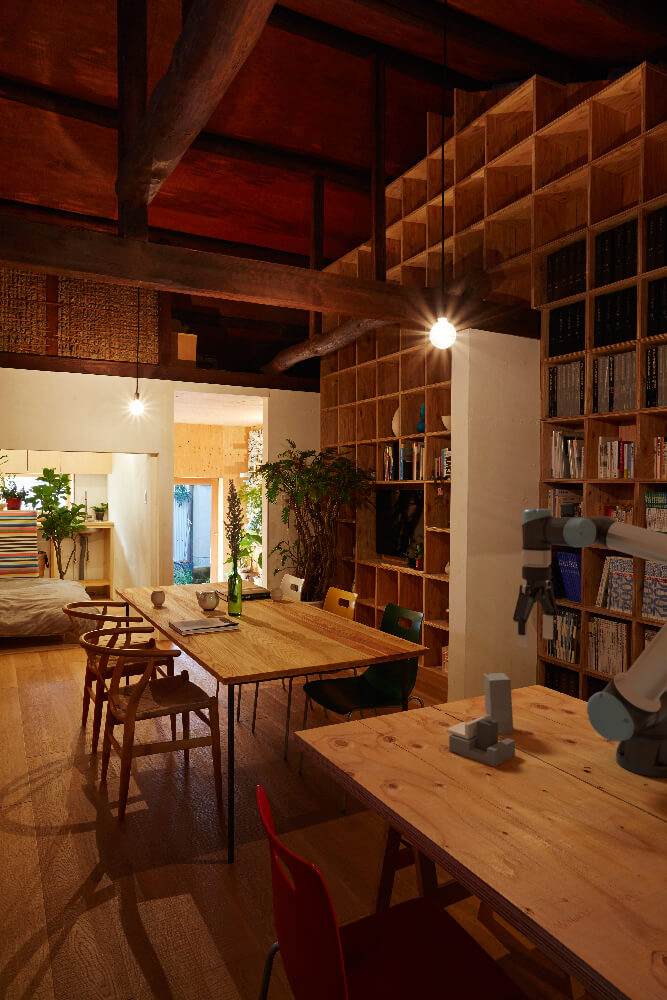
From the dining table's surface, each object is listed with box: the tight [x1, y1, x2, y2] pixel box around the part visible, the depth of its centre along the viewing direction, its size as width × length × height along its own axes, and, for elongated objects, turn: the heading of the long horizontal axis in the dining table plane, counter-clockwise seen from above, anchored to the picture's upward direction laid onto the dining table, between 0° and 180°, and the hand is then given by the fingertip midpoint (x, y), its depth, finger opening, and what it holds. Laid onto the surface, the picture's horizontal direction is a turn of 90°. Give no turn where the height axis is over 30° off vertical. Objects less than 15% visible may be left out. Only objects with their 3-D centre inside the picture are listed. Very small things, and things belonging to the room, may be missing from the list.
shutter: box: [445, 716, 484, 739], centre depth 176 cm, size 7×8×4 cm
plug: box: [477, 714, 499, 752], centre depth 171 cm, size 4×4×10 cm
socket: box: [448, 734, 516, 767], centre depth 173 cm, size 14×10×4 cm
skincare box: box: [483, 672, 514, 735], centre depth 190 cm, size 8×7×16 cm
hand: (535, 642), depth 176 cm, fingers open, 13 cm apart
